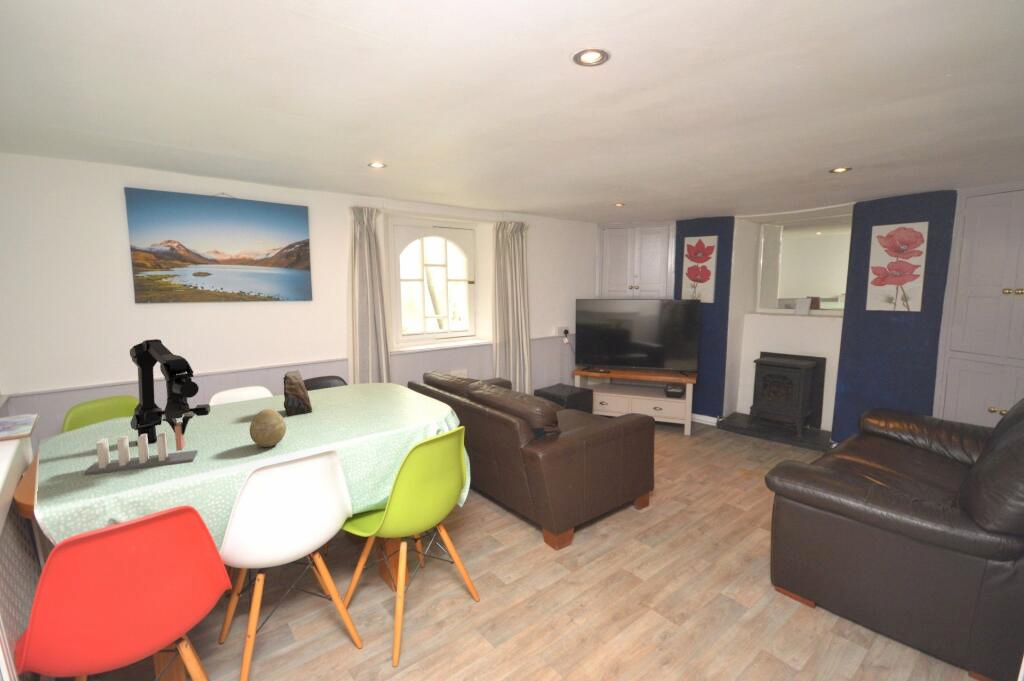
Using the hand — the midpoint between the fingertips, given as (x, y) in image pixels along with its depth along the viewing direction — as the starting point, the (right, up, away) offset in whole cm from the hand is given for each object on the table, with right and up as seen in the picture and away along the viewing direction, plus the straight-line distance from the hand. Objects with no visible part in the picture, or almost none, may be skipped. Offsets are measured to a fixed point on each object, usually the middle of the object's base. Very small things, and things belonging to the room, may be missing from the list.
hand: (180, 434), depth 166 cm
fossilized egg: (+24, -8, +15) cm, 30 cm away
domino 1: (-20, -9, -8) cm, 23 cm away
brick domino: (0, -5, 0) cm, 5 cm away
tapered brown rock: (+15, -1, +59) cm, 61 cm away
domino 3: (-10, -8, -4) cm, 14 cm away
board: (-10, -9, -3) cm, 14 cm away
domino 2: (-15, -9, -6) cm, 18 cm away
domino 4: (-5, -8, -1) cm, 10 cm away
